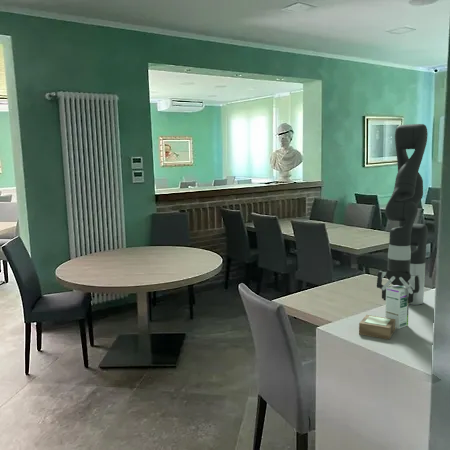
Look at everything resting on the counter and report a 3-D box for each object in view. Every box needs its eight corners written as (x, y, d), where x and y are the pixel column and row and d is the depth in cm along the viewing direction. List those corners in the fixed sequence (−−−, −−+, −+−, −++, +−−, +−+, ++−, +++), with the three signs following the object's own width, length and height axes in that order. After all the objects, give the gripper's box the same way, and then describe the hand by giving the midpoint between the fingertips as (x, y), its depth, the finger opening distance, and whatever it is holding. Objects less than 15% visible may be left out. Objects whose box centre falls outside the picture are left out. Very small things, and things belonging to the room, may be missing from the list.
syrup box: (398, 329, 164) (400, 289, 162) (384, 324, 169) (386, 286, 167) (408, 326, 167) (410, 286, 165) (393, 321, 172) (395, 283, 170)
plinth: (366, 325, 168) (366, 314, 168) (395, 330, 163) (395, 318, 163) (358, 334, 160) (359, 322, 159) (389, 339, 155) (389, 327, 154)
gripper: (422, 257, 164) (420, 301, 166) (380, 253, 171) (379, 296, 173) (419, 261, 158) (416, 307, 160) (376, 257, 165) (374, 301, 167)
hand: (397, 301), depth 167 cm, fingers open, 8 cm apart
